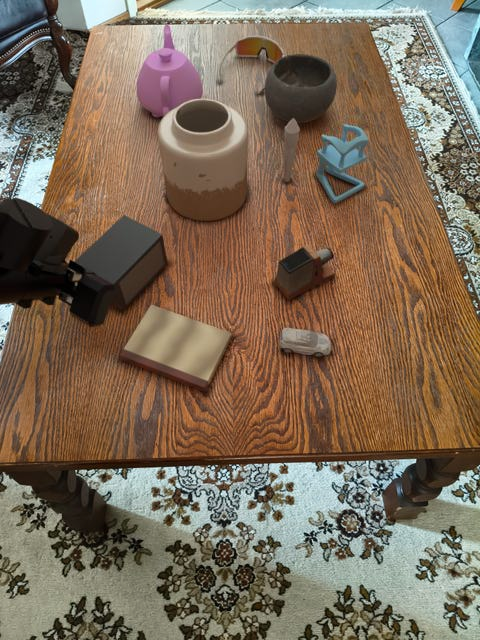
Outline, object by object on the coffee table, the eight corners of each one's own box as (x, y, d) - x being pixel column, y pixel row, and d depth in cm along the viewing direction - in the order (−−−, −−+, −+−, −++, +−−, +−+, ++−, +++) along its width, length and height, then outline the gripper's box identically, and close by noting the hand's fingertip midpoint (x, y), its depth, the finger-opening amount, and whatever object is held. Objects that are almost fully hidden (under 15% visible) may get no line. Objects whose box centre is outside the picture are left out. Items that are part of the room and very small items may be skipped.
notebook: (120, 360, 77) (118, 354, 75) (152, 309, 82) (150, 303, 81) (205, 392, 74) (204, 387, 73) (232, 337, 79) (232, 332, 78)
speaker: (123, 313, 81) (114, 285, 75) (85, 290, 84) (73, 262, 78) (168, 264, 87) (163, 234, 81) (131, 245, 89) (123, 214, 83)
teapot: (143, 77, 118) (134, 23, 107) (204, 76, 118) (201, 22, 108) (135, 131, 107) (125, 77, 96) (202, 131, 107) (199, 76, 97)
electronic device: (335, 278, 86) (342, 249, 79) (288, 302, 83) (291, 274, 77) (319, 261, 88) (325, 231, 81) (273, 284, 85) (275, 255, 79)
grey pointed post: (295, 184, 98) (303, 121, 86) (282, 186, 98) (288, 124, 86) (290, 175, 100) (298, 112, 88) (277, 178, 99) (283, 115, 87)
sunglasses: (292, 62, 121) (293, 43, 117) (266, 104, 115) (266, 85, 111) (238, 48, 124) (237, 29, 120) (211, 88, 119) (209, 70, 114)
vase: (261, 203, 95) (266, 126, 81) (189, 233, 91) (181, 157, 77) (222, 156, 102) (219, 78, 88) (153, 183, 98) (139, 105, 84)
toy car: (329, 359, 77) (333, 349, 75) (277, 352, 78) (279, 342, 75) (331, 338, 79) (334, 328, 77) (280, 332, 80) (281, 321, 77)
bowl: (250, 120, 109) (251, 75, 101) (285, 86, 116) (289, 42, 108) (310, 144, 105) (316, 100, 96) (343, 108, 112) (351, 64, 103)
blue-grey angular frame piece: (335, 164, 101) (346, 111, 91) (364, 187, 98) (379, 135, 88) (306, 179, 99) (314, 126, 89) (334, 204, 95) (346, 151, 85)
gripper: (85, 251, 57) (159, 251, 72) (-28, 189, 63) (61, 200, 77) (58, 337, 60) (134, 320, 75) (-47, 271, 66) (42, 267, 80)
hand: (92, 274), depth 77 cm, fingers closed, pressing on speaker
